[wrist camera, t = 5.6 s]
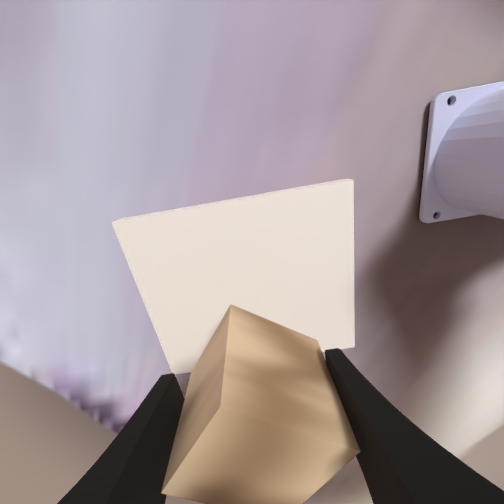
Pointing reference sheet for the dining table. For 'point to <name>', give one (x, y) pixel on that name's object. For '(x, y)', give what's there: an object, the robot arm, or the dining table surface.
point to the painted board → (247, 266)
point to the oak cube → (258, 418)
